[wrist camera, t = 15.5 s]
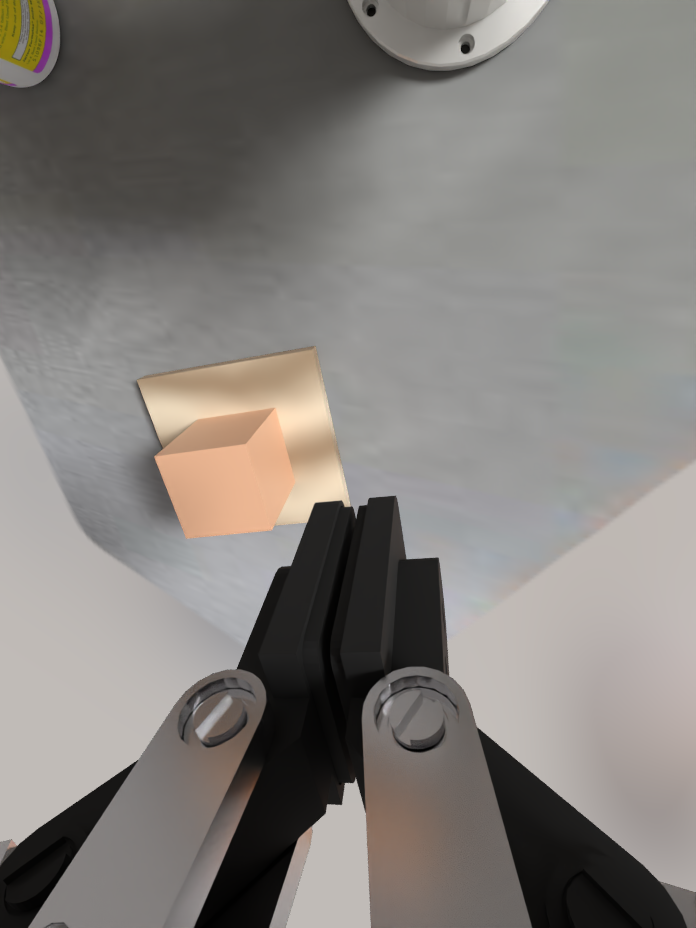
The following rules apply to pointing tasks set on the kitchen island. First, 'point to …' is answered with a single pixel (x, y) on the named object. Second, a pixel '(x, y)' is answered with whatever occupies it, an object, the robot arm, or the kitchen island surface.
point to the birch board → (256, 388)
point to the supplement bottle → (28, 41)
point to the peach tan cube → (228, 474)
